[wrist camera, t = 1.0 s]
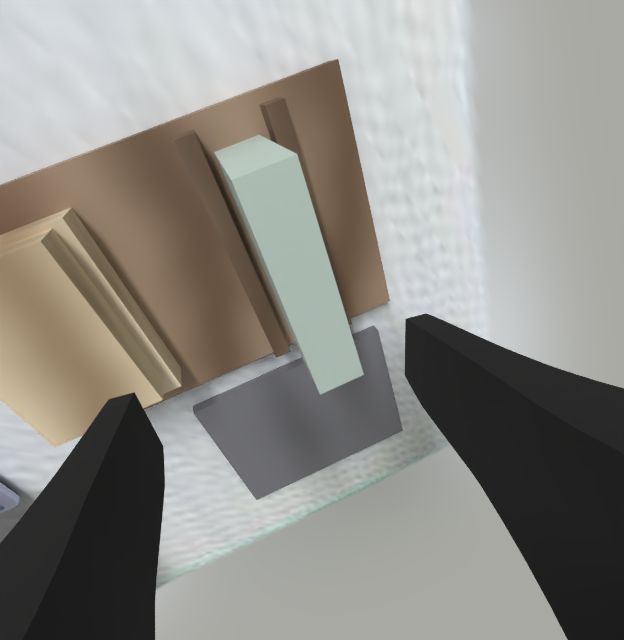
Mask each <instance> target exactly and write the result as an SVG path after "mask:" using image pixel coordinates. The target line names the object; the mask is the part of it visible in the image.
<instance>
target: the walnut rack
mask: <svg viewBox="0 0 624 640" xmlns="http://www.w3.org/2000/svg"><path fill="white" fill-rule="evenodd" d="M257 135H261V136H263V137H265V138H267V139H269V140H271V141H273V142H275V143H277V144H278V145H280V146H282V147H284V148H286V149H288V150H290V151H292V152H294V153H296V154H297V155H298V159H299V162H300V165H301V168H302V172H303V175H304V178H305V182H306V185H307V188H308V192H309V195H310V198H311V201H312V205H313V208H314V211H315V215H316V218H317V221H318V225H319V228H320V231H321V235H322V238H323V241H324V244H325V248H326V251H327V254H328V258H329V261H330V264H331V268H332V271H333V274H334V278H335V281H336V284H337V287H338V291H339V294H340V297H341V301H342V304H343V307H344V311H345V314H346V317H347V320H348V324H349V325H351V324H352V323H351V320H350V318H352V317H354V316H357V315H359V314H361V313H363V312H366V311H368V310H370V309H372V308H375V307H377V306H379V305H381V304H384V303H386V302H388V301H390V299H389V295H388V290H387V285H386V281H385V276H384V271H383V267H382V262H381V257H380V253H379V248H378V243H377V239H376V234H375V229H374V224H373V220H372V215H371V210H370V206H369V201H368V196H367V192H366V187H365V182H364V178H363V173H362V168H361V164H360V159H359V154H358V150H357V145H356V140H355V136H354V131H353V126H352V121H351V117H350V112H349V107H348V103H347V98H346V93H345V89H344V84H343V79H342V75H341V70H340V65H339V61H338V59H337V60H332V61H328V62H326V63H323V64H320V65H318V66H315V67H313V68H310V69H307V70H305V71H302V72H299V73H297V74H294V75H291V76H289V77H286V78H283V79H281V80H278V81H275V82H273V83H270V84H267V85H265V86H262V87H259V88H257V89H254V90H251V91H249V92H246V93H243V94H241V95H238V96H235V97H233V98H230V99H227V100H225V101H222V102H220V103H217V104H214V105H212V106H209V107H206V108H204V109H201V110H198V111H196V112H193V113H190V114H188V115H185V116H182V117H180V118H177V119H174V120H172V121H169V122H166V123H164V124H161V125H158V126H156V127H153V128H150V129H148V130H145V131H142V132H140V133H137V134H135V135H132V136H129V137H127V138H124V139H121V140H119V141H116V142H113V143H111V144H108V145H105V146H103V147H100V148H97V149H95V150H92V151H89V152H87V153H84V154H81V155H79V156H76V157H73V158H71V159H68V160H65V161H63V162H60V163H57V164H55V165H52V166H49V167H47V168H44V169H42V170H39V171H36V172H34V173H31V174H28V175H26V176H23V177H20V178H18V179H15V180H12V181H10V182H7V183H4V184H2V185H0V235H2V234H4V233H7V232H10V231H12V230H15V229H17V228H20V227H22V226H25V225H28V224H30V223H33V222H35V221H38V220H40V219H43V218H46V217H48V216H51V215H53V214H56V213H59V212H61V211H64V210H66V209H69V208H71V207H72V209H73V210H74V212H75V213H76V215H77V216H78V218H79V219H80V221H81V222H82V224H83V225H84V226H85V228H86V229H87V231H88V232H89V234H90V235H91V237H92V238H93V240H94V241H95V243H96V244H97V246H98V247H99V248H100V250H101V251H102V253H103V254H104V256H105V257H106V259H107V260H108V262H109V263H110V265H111V266H112V267H113V269H114V270H115V272H116V273H117V275H118V276H119V278H120V279H121V281H122V282H123V284H124V285H125V287H126V288H127V289H128V291H129V292H130V294H131V295H132V297H133V298H134V300H135V301H136V303H137V304H138V306H139V307H140V309H141V310H142V311H143V313H144V314H145V316H146V317H147V319H148V320H149V322H150V323H151V325H152V326H153V328H154V329H155V331H156V332H157V333H158V335H159V336H160V338H161V339H162V341H163V342H164V344H165V345H166V347H167V348H168V350H169V351H170V352H171V354H172V355H173V357H174V358H175V360H176V361H177V363H178V364H179V366H180V367H181V387H178V388H176V389H174V390H172V391H169V392H167V393H165V394H163V400H161V401H159V402H157V403H154V404H152V405H150V406H148V407H145V408H143V409H146V408H149V407H151V406H153V405H155V404H158V403H160V402H162V401H164V400H167V399H169V398H171V397H174V396H176V395H178V394H180V393H183V392H185V391H187V390H189V389H192V388H194V387H196V386H198V385H201V384H203V383H205V382H207V381H210V380H212V379H214V378H216V377H219V376H221V375H223V374H225V373H228V372H230V371H232V370H235V369H237V368H239V367H241V366H244V365H246V364H248V363H250V362H253V361H255V360H257V359H259V358H262V357H264V356H266V355H268V354H271V353H273V352H274V354H275V356H276V357H279V356H281V355H283V354H285V353H288V352H290V350H289V347H288V346H289V345H291V344H293V343H295V341H294V339H293V337H292V335H291V333H290V330H289V328H288V326H287V324H286V322H285V320H284V317H283V315H282V312H281V310H280V308H279V305H278V303H277V301H276V298H275V296H274V294H273V291H272V289H271V286H270V284H269V282H268V279H267V277H266V275H265V272H264V270H263V267H262V265H261V263H260V260H259V258H258V256H257V253H256V251H255V249H254V246H253V244H252V241H251V239H250V237H249V234H248V232H247V230H246V227H245V225H244V222H243V220H242V218H241V215H240V213H239V211H238V208H237V206H236V204H235V201H234V199H233V196H232V194H231V192H230V189H229V187H228V185H227V182H226V180H225V177H224V175H223V173H222V170H221V168H220V166H219V163H218V161H217V159H216V156H215V154H214V152H216V151H218V150H221V149H224V148H226V147H229V146H231V145H234V144H236V143H239V142H242V141H244V140H247V139H249V138H252V137H254V136H257Z"/></svg>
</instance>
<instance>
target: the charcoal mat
mask: <svg viewBox="0 0 624 640" xmlns="http://www.w3.org/2000/svg"><path fill="white" fill-rule="evenodd" d="M352 337H353V340H354V344H355V347H356V350H357V354H358V357H359V360H360V363H361V367H362V370H363V373H364V375H362V376H360V377H358V378H356V379H353V380H351V381H349V382H347V383H345V384H342V385H340V386H338V387H336V388H334V389H332V390H329V391H327V392H325V393H323V394H321V395H320V393H319V391H318V389H317V387H316V385H315V383H314V381H313V379H312V377H311V375H310V372H309V370H308V368H307V366H306V364H305V362H304V360H303V358H300V359H298V360H296V361H293V362H291V363H289V364H287V365H284V366H282V367H280V368H278V369H275V370H273V371H271V372H269V373H267V374H264V375H262V376H260V377H258V378H255V379H253V380H251V381H249V382H246V383H244V384H242V385H240V386H237V387H235V388H233V389H231V390H228V391H226V392H224V393H222V394H220V395H217V396H215V397H213V398H211V399H208V400H206V401H204V402H202V403H199V404H197V405H195V406H193V410H194V414H195V416H196V417H197V418H198V420H199V421H200V423H201V424H202V425H203V427H204V428H205V429H206V431H207V432H208V434H209V435H210V436H211V438H212V439H213V440H214V442H215V443H216V445H217V446H218V447H219V449H220V450H221V452H222V453H223V454H224V456H225V457H226V458H227V460H228V461H229V463H230V464H231V465H232V467H233V468H234V469H235V471H236V472H237V474H238V475H239V476H240V478H241V479H242V480H243V482H244V483H245V485H246V486H247V487H248V489H249V490H250V492H251V493H252V494H253V496H254V497H255V498H256V500H258V499H260V498H262V497H264V496H266V495H268V494H270V493H272V492H274V491H277V490H279V489H281V488H283V487H285V486H287V485H289V484H291V483H293V482H295V481H298V480H300V479H302V478H304V477H306V476H308V475H310V474H312V473H314V472H316V471H319V470H321V469H323V468H325V467H327V466H329V465H331V464H333V463H335V462H337V461H340V460H342V459H344V458H346V457H348V456H350V455H352V454H354V453H356V452H358V451H361V450H363V449H365V448H367V447H369V446H371V445H373V444H375V443H377V442H379V441H381V440H384V439H386V438H388V437H390V436H392V435H394V434H396V433H398V432H400V431H402V426H401V422H400V418H399V414H398V410H397V406H396V402H395V398H394V394H393V390H392V386H391V382H390V378H389V374H388V369H387V365H386V361H385V357H384V353H383V349H382V345H381V341H380V337H379V333H378V330H377V329H376V328H375V327H374V326H372V327H369V328H367V329H365V330H363V331H360V332H358V333H356V334H354V335H352Z"/></svg>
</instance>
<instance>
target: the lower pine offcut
mask: <svg viewBox="0 0 624 640" xmlns="http://www.w3.org/2000/svg"><path fill="white" fill-rule="evenodd" d="M51 228H53V229H54V231H55V232H56V233H57V235H58V236H59V238H60V239H61V240H62V242H63V243H64V244H65V246H66V247H67V248H68V250H69V251H70V252H71V254H72V255H73V257H74V258H75V259H76V261H77V262H78V263H79V265H80V266H81V267H82V269H83V270H84V272H85V273H86V274H87V276H88V277H89V278H90V280H91V281H92V282H93V284H94V285H95V286H96V288H97V289H98V291H99V292H100V293H101V295H102V296H103V297H104V299H105V300H106V301H107V303H108V304H109V305H110V307H111V308H112V310H113V311H114V312H115V314H116V315H117V316H118V318H119V319H120V320H121V322H122V323H123V324H124V326H125V327H126V329H127V330H128V331H129V333H130V334H131V335H132V337H133V338H134V339H135V341H136V342H137V344H138V345H139V346H140V348H141V349H142V350H143V352H144V353H145V354H146V356H147V357H148V358H149V360H150V361H151V363H152V364H153V365H154V367H155V368H156V369H157V371H158V372H159V373H160V375H161V376H162V377H163V379H164V385H163V394H165V393H167V392H169V391H172V390H174V389H176V388H178V387H181V367H180V366H179V364H178V363H177V361H176V360H175V358H174V357H173V355H172V354H171V352H170V351H169V350H168V348H167V347H166V345H165V344H164V342H163V341H162V339H161V338H160V336H159V335H158V333H157V332H156V331H155V329H154V328H153V326H152V325H151V323H150V322H149V320H148V319H147V317H146V316H145V314H144V313H143V311H142V310H141V309H140V307H139V306H138V304H137V303H136V301H135V300H134V298H133V297H132V295H131V294H130V292H129V291H128V289H127V288H126V287H125V285H124V284H123V282H122V281H121V279H120V278H119V276H118V275H117V273H116V272H115V270H114V269H113V267H112V266H111V265H110V263H109V262H108V260H107V259H106V257H105V256H104V254H103V253H102V251H101V250H100V248H99V247H98V246H97V244H96V243H95V241H94V240H93V238H92V237H91V235H90V234H89V232H88V231H87V229H86V228H85V226H84V225H83V224H82V222H81V221H80V219H79V218H78V216H77V215H76V213H75V212H74V210H73V209H72V207H71V208H69V209H66V210H64V211H61V212H59V213H56V214H53V215H51V216H48V217H46V218H43V219H40V220H38V221H35V222H33V223H30V224H28V225H25V226H22V227H20V228H17V229H15V230H12V231H10V232H7V233H4V234H2V235H0V248H3V247H5V246H8V245H10V244H13V243H15V242H18V241H21V240H23V239H26V238H28V237H31V236H33V235H36V234H38V233H41V232H44V231H46V230H49V229H51Z"/></svg>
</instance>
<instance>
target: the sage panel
mask: <svg viewBox="0 0 624 640" xmlns="http://www.w3.org/2000/svg"><path fill="white" fill-rule="evenodd" d="M214 154H215V156H216V159H217V161H218V163H219V166H220V168H221V170H222V173H223V175H224V177H225V180H226V182H227V185H228V187H229V189H230V192H231V194H232V196H233V199H234V201H235V204H236V206H237V208H238V211H239V213H240V215H241V218H242V220H243V222H244V225H245V227H246V230H247V232H248V234H249V237H250V239H251V241H252V244H253V246H254V249H255V251H256V253H257V256H258V258H259V260H260V263H261V265H262V267H263V270H264V272H265V275H266V277H267V279H268V282H269V284H270V286H271V289H272V291H273V294H274V296H275V298H276V301H277V303H278V305H279V308H280V310H281V312H282V315H283V317H284V320H285V322H286V324H287V326H288V328H289V330H290V333H291V335H292V337H293V339H294V341H295V343H296V345H297V347H298V349H299V351H300V354H301V356H302V358H303V360H304V362H305V364H306V366H307V368H308V370H309V372H310V375H311V377H312V379H313V381H314V383H315V385H316V387H317V389H318V391H319V393H320V395H321V394H323V393H325V392H327V391H329V390H332V389H334V388H336V387H338V386H340V385H342V384H345V383H347V382H349V381H351V380H353V379H356V378H358V377H360V376H362V375H364V373H363V370H362V367H361V363H360V360H359V357H358V354H357V350H356V347H355V344H354V340H353V337H352V334H351V330H350V327H349V324H348V320H347V317H346V314H345V311H344V307H343V304H342V301H341V297H340V294H339V291H338V287H337V284H336V281H335V278H334V274H333V271H332V268H331V264H330V261H329V258H328V254H327V251H326V248H325V244H324V241H323V238H322V235H321V231H320V228H319V225H318V221H317V218H316V215H315V211H314V208H313V205H312V201H311V198H310V195H309V192H308V188H307V185H306V182H305V178H304V175H303V172H302V168H301V165H300V162H299V159H298V155H297V154H296V153H294V152H292V151H290V150H288V149H286V148H284V147H282V146H280V145H278V144H277V143H275V142H273V141H271V140H269V139H267V138H265V137H263V136H261V135H257V136H254V137H252V138H249V139H247V140H244V141H242V142H239V143H236V144H234V145H231V146H229V147H226V148H224V149H221V150H218V151H216V152H214Z"/></svg>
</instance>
